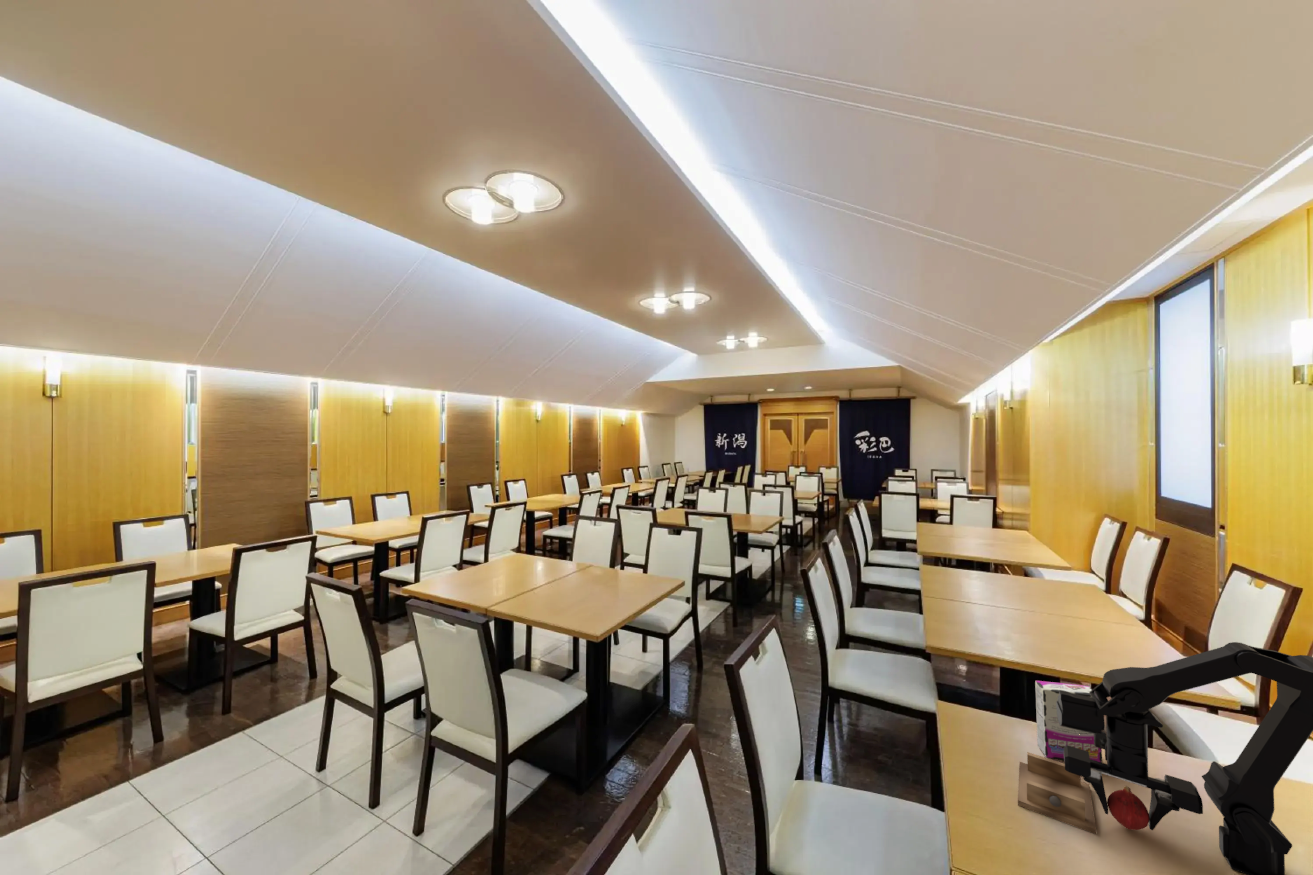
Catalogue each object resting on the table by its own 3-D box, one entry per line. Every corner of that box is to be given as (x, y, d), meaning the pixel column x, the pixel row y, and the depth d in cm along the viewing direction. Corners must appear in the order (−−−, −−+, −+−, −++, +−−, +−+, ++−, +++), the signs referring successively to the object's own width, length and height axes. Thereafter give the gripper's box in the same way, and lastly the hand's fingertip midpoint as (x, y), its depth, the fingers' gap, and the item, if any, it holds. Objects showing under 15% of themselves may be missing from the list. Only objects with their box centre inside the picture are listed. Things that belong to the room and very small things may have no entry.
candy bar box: (1090, 753, 114) (1089, 684, 115) (1103, 766, 110) (1101, 695, 110) (1035, 744, 118) (1034, 678, 118) (1045, 757, 113) (1044, 688, 113)
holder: (1089, 788, 103) (1088, 767, 103) (1096, 834, 91) (1095, 810, 91) (1019, 765, 110) (1019, 746, 110) (1017, 804, 99) (1017, 783, 99)
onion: (1158, 843, 89) (1157, 800, 89) (1122, 838, 90) (1121, 796, 90) (1134, 819, 95) (1133, 778, 95) (1100, 814, 96) (1099, 775, 96)
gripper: (1187, 737, 93) (1188, 817, 93) (1061, 705, 104) (1063, 776, 104) (1202, 768, 84) (1204, 857, 84) (1064, 729, 96) (1065, 807, 96)
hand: (1128, 820), depth 92 cm, fingers closed on onion, 6 cm apart
